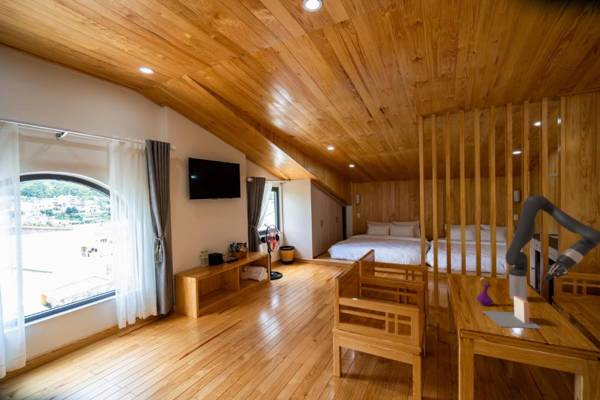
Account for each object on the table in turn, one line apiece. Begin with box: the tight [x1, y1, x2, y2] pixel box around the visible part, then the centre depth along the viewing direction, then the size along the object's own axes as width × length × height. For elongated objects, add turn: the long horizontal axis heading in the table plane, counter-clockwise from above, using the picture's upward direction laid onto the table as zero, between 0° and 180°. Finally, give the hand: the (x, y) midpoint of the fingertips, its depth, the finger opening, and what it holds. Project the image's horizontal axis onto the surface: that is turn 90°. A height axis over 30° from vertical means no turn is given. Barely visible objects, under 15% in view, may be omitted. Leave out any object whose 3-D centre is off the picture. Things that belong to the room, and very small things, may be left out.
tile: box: [513, 296, 530, 323], centre depth 152 cm, size 9×2×12 cm, turn 169°
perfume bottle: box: [476, 276, 494, 307], centre depth 176 cm, size 8×8×18 cm
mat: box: [482, 310, 543, 330], centre depth 153 cm, size 20×20×1 cm
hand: (545, 279), depth 149 cm, fingers closed
